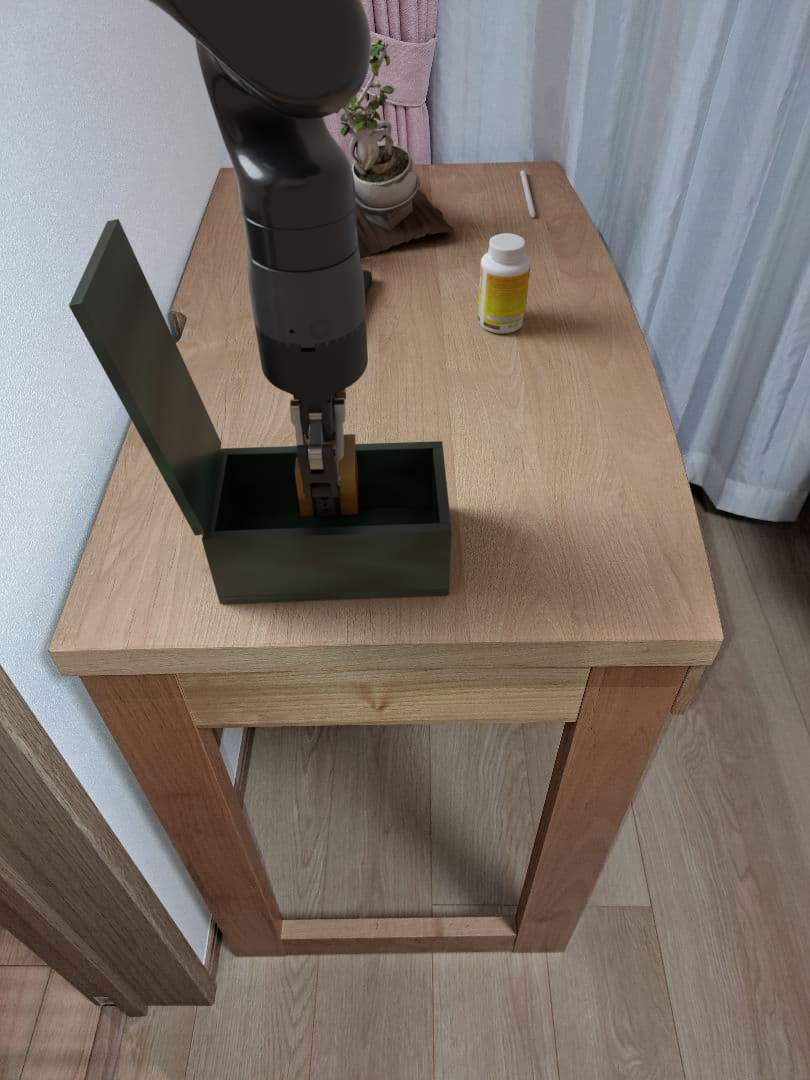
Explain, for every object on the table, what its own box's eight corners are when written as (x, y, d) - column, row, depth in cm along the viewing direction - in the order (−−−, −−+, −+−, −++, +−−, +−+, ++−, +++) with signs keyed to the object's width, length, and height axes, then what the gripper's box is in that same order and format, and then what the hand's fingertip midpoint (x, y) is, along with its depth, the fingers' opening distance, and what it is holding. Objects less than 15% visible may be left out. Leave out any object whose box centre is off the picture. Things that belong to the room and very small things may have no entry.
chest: (440, 506, 77) (442, 440, 71) (449, 595, 69) (451, 530, 64) (233, 513, 76) (218, 448, 71) (219, 604, 69) (201, 539, 63)
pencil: (529, 217, 116) (519, 171, 126) (532, 222, 116) (521, 176, 126) (534, 213, 115) (524, 168, 126) (537, 218, 116) (526, 173, 126)
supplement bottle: (532, 329, 97) (542, 247, 89) (490, 340, 95) (496, 257, 88) (510, 306, 100) (517, 225, 93) (469, 316, 99) (473, 235, 92)
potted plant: (465, 252, 115) (442, 82, 93) (344, 310, 113) (292, 152, 92) (405, 173, 124) (371, 3, 102) (293, 226, 123) (234, 66, 101)
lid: (118, 218, 56) (106, 220, 56) (81, 303, 48) (68, 305, 48) (221, 443, 70) (212, 444, 70) (205, 534, 63) (194, 536, 63)
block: (357, 514, 66) (354, 472, 63) (300, 516, 66) (294, 474, 63) (358, 476, 69) (355, 433, 66) (303, 478, 69) (297, 435, 66)
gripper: (262, 257, 60) (288, 439, 72) (242, 372, 50) (276, 560, 63) (364, 255, 60) (373, 436, 73) (365, 369, 50) (375, 556, 63)
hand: (328, 493), depth 68 cm, fingers closed on block, 4 cm apart
